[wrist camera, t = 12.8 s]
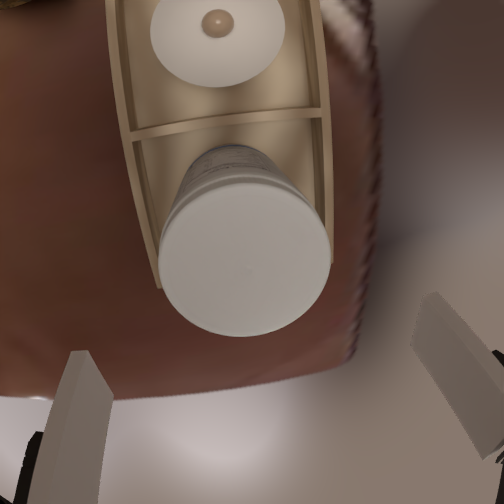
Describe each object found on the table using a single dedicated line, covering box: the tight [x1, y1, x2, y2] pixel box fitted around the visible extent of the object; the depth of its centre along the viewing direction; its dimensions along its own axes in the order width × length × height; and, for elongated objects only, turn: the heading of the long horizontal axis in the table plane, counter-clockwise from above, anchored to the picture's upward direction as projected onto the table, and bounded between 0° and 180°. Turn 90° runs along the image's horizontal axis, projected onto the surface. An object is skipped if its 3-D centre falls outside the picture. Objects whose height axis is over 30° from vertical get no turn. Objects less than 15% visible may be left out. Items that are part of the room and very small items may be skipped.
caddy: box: [105, 0, 334, 289], centre depth 26 cm, size 17×28×4 cm, turn 6°
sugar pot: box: [150, 0, 285, 88], centre depth 19 cm, size 9×9×9 cm
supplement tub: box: [158, 144, 331, 337], centre depth 23 cm, size 10×10×15 cm
